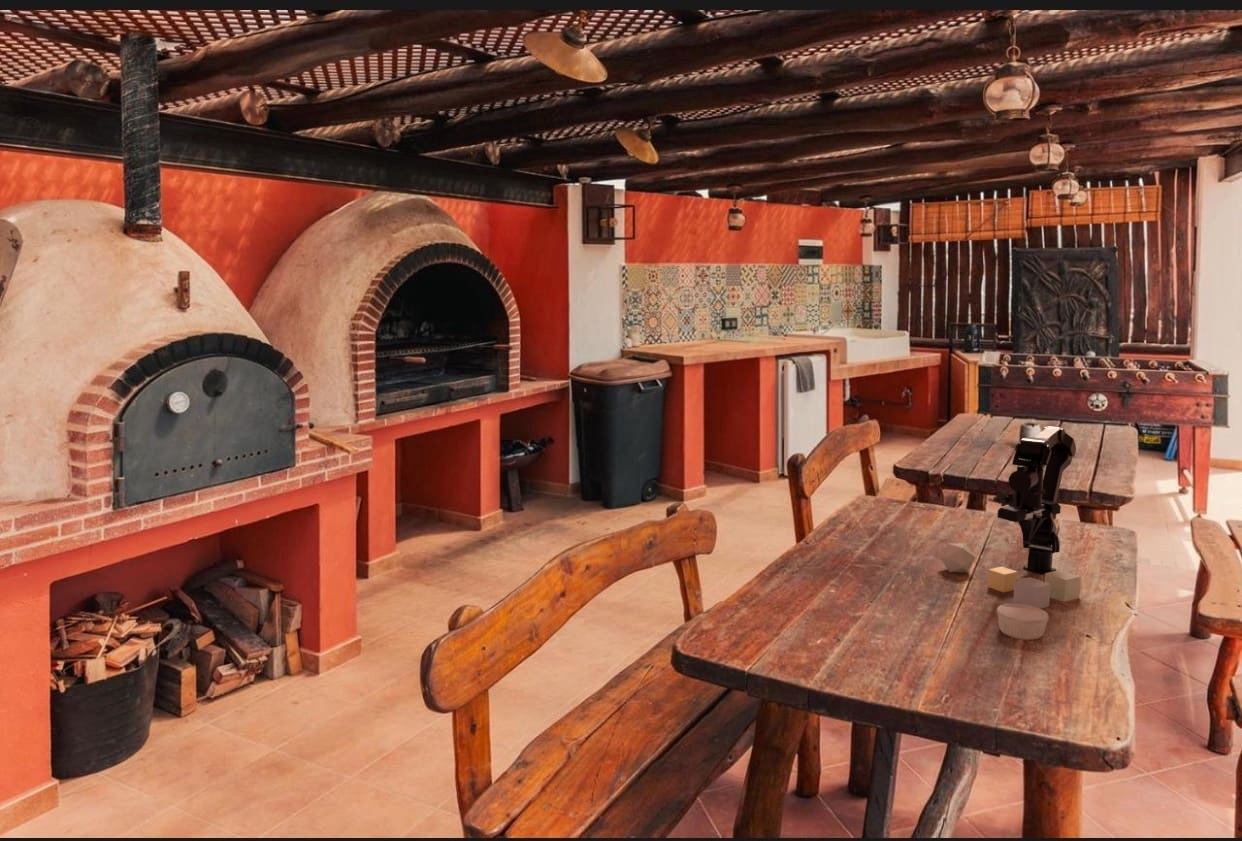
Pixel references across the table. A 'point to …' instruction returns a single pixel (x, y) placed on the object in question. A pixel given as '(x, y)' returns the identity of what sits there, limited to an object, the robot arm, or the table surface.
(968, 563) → the die
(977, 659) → the table surface
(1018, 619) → the ramekin
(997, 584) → the mustard block
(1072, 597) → the tan cube
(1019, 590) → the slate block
